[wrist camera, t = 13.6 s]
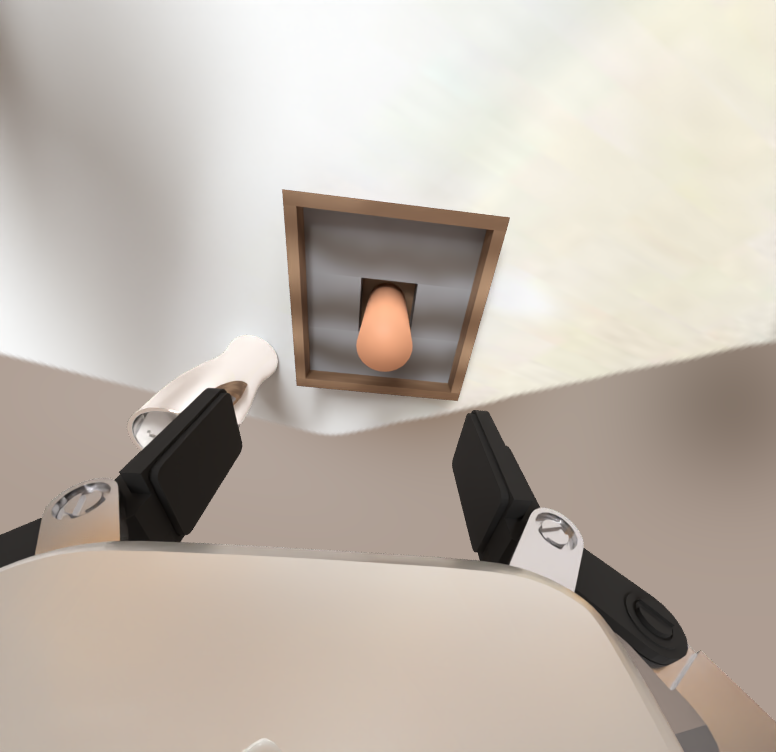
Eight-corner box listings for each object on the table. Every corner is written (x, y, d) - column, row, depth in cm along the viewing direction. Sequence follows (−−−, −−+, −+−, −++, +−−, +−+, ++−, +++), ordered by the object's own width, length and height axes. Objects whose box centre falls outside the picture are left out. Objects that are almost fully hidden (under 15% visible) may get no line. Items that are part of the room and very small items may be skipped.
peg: (370, 280, 29) (357, 317, 19) (407, 284, 29) (416, 323, 19) (367, 317, 31) (355, 368, 21) (402, 321, 31) (408, 374, 21)
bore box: (302, 194, 26) (282, 189, 21) (489, 217, 27) (510, 217, 22) (309, 362, 35) (296, 385, 30) (449, 376, 36) (457, 400, 31)
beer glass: (266, 325, 33) (183, 397, 20) (290, 374, 36) (233, 464, 23) (214, 338, 34) (102, 415, 21) (242, 385, 37) (162, 477, 24)
